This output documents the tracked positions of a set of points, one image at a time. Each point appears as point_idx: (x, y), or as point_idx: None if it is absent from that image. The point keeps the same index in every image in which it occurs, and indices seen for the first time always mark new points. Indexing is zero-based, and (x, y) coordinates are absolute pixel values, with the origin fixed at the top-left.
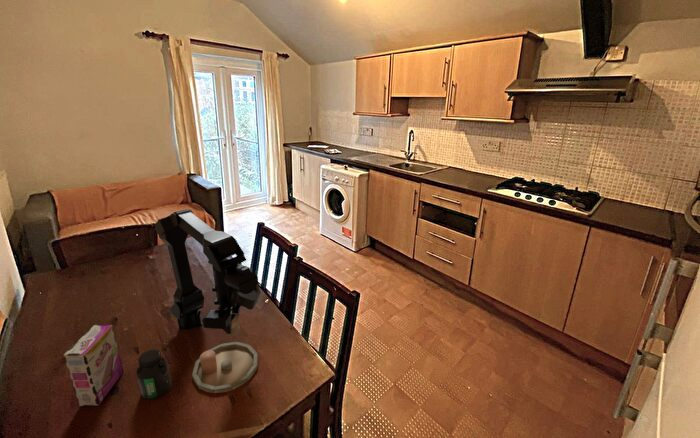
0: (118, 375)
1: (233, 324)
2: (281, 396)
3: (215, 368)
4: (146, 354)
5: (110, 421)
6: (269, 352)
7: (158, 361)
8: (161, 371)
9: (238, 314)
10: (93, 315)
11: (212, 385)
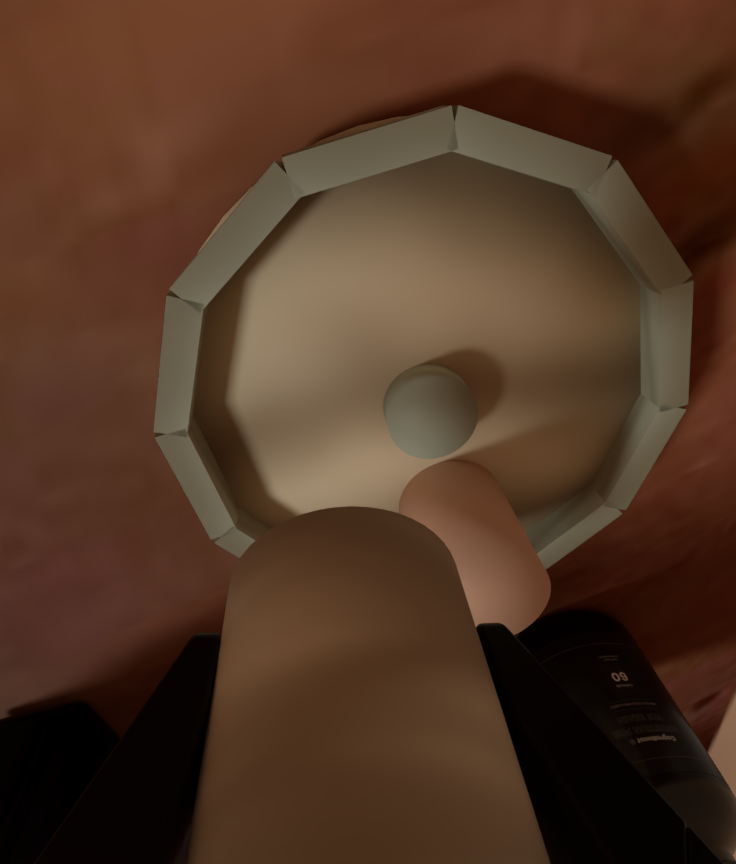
0: None
1: (503, 762)
2: None
3: (472, 474)
4: None
5: (687, 709)
6: (155, 32)
7: None
8: (707, 786)
9: (112, 837)
10: None
11: (595, 427)
